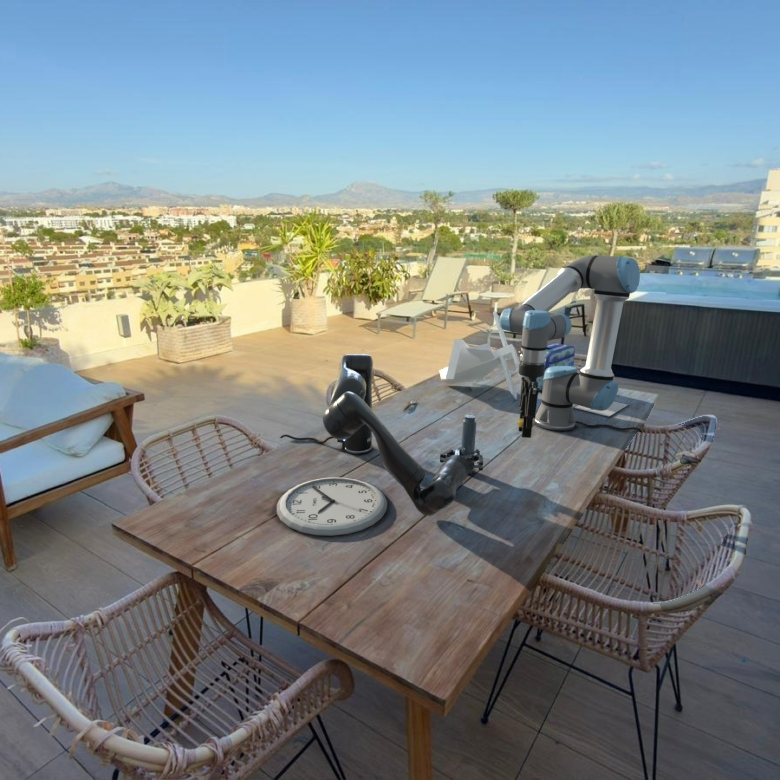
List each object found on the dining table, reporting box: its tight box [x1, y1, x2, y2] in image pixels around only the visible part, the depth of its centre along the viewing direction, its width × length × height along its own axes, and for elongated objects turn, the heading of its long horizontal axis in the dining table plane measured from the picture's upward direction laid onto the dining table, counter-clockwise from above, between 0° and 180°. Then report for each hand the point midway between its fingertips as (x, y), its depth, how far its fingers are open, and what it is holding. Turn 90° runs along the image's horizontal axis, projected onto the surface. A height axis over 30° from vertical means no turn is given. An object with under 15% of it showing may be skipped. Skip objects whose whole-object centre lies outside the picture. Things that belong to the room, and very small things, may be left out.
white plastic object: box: [438, 310, 524, 400], centre depth 245 cm, size 37×45×31 cm
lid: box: [517, 418, 534, 428], centre depth 164 cm, size 5×5×2 cm
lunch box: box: [537, 343, 576, 391], centre depth 249 cm, size 26×11×21 cm, turn 134°
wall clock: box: [276, 476, 388, 537], centre depth 142 cm, size 30×2×30 cm
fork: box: [403, 395, 419, 411], centre depth 222 cm, size 3×16×2 cm, turn 160°
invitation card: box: [573, 400, 629, 418], centre depth 226 cm, size 21×1×15 cm
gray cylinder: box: [460, 414, 477, 475], centre depth 161 cm, size 4×4×18 cm
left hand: (469, 450), depth 165 cm, fingers closed on gray cylinder, 4 cm apart
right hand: (524, 433), depth 165 cm, fingers closed on lid, 4 cm apart
